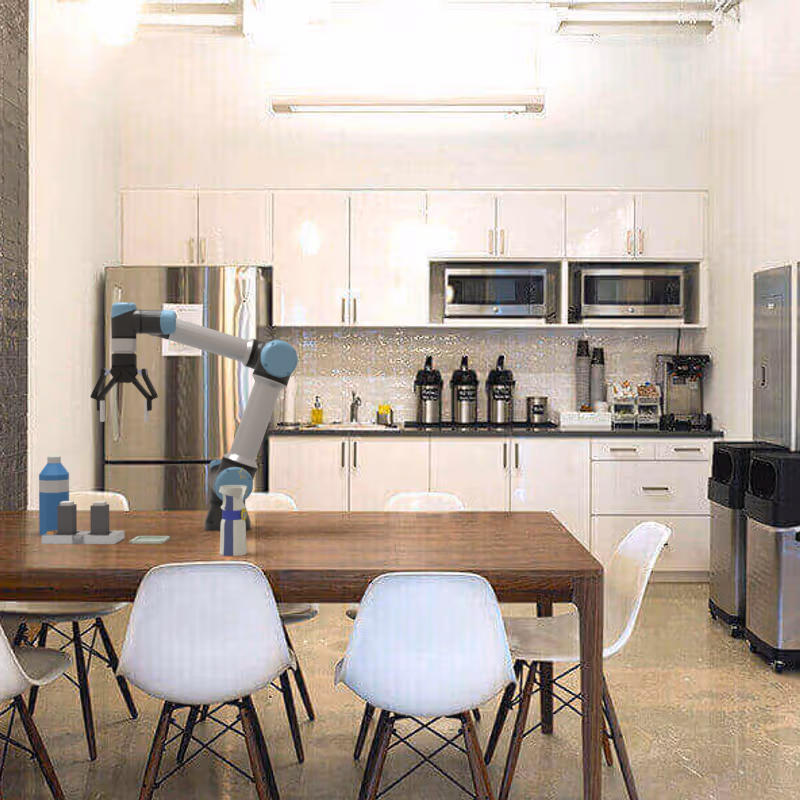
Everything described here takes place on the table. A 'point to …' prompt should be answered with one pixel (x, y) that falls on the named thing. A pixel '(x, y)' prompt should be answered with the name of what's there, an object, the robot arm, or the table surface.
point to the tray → (149, 540)
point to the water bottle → (52, 493)
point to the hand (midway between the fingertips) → (124, 421)
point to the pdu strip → (83, 537)
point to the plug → (99, 518)
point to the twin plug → (67, 518)
